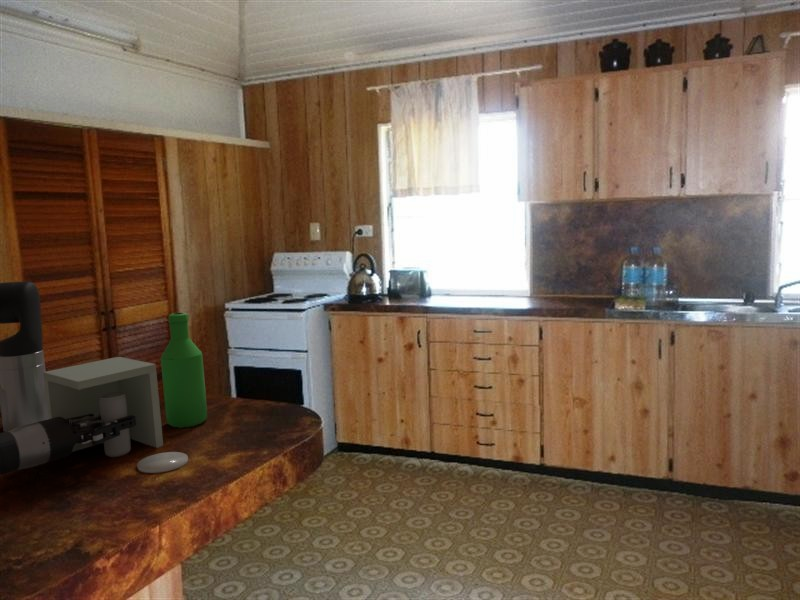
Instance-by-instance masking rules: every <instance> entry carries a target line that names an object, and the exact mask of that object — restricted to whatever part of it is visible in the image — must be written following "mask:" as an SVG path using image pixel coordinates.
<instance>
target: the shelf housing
mask: <svg viewBox="0 0 800 600" xmlns="http://www.w3.org/2000/svg"><path fill="white" fill-rule="evenodd" d="M156 364H157V363H152V362H147V361H142V360H137V359H131V358H128V357H121V356H116V357H111V358H106V359H105V358H104V359H101V360H97V361H91V362H87V363H83V364H77V365H72V366H67V367H62V368H57V369H53V370H48V371H46V372H43V375H44V383H45V392H46V400H47V409H48V417H49V419H51V418H55V417H62V418H64V419H68V418H73V417H78V416H83V415H88V414H94V416H95V415H97V414H99V415H101V413H100V404H99V400H100V395H102V394H105V393H109V392H124V393H125V396H126V404H127V414H128V416H130V415H133V416H135V417H136V425H135V426H134V427H131V428H129V434H130V440H133V441H135V442H139V443H142V444H144V445H148V446H149V445H150V446H149V447H152V446H153V448H155V447H156V449H157V448H161V447H164V439H163V428H162V418H161V408H160V406H161V405H160V396H159V385H158V374H157V365H156ZM101 444H104V442H102V443H101ZM93 446H95V445H92V441H90V442H89V443H85V444H80V443H76V444H75V445H74V447H73V450H72V453H73V452H76V451H80V450H84V449H87V448H91V447H93Z"/></svg>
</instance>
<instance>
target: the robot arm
mask: <svg viewBox="0 0 800 600" xmlns="http://www.w3.org/2000/svg"><path fill="white" fill-rule="evenodd" d="M41 304H42V303H41V296H40V291H39V289H38V287H37V285H36V284H35V283H33V282H32V281H10V282H9V281H7V282H0V324H2V325H4V324H19V330H18V331H17V332H16V333H14V334H13V335H11V336H9V337H5V338H4V339H1V340H0V413H1V414H0V415H1V421H2V429H3V432H0V476H3V475H7V474H8V473H12V472H16V471H20V470H24V469H29V468H34V467H36V466H40V465H44V464H46V463H49V462H52V461H55V460H59V459H62V458H65V457H68V456H70V455H71V454H72V453H73V452H72V450H73V447H74V445H75V444H76V443H80V444H85V443H89V442H90V441H92V445H94V446H97V445H100V444H103V443H102V442H105V441H107V440H110V439H112V438H115V437H117V436H120V431H121V430H124V429H127V428H131V427H134V426H135V425H136V417H135V416H133V415H130V416H127V417H123V418H120V419H116V420H111V421H105V422H104V421H103V420H101V415H99V414H97V415H95V416H94V414H88V415H83V416H78V417H73V418H68V419H64V418H62V417H55V418H51V419H49V417H48V409H47V400H46V392H45V383H44V375H43V372H46V363H45V362H46V361H45V353H44V345H43V325H42V309H41ZM110 429H112V430H110Z"/></svg>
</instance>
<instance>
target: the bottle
mask: <svg viewBox="0 0 800 600" xmlns="http://www.w3.org/2000/svg"><path fill="white" fill-rule="evenodd" d="M189 320H190V319H189V316H188V313H186V312H173V313H171V314H169V315H168V320H167V322H168V323H169V331H170V332H169V333H170V340H169V343H168V344H167V346H166V347H165V349H164V351H163V353H162V354H161V356H160V366H161V375H162V388H163V396H164V397H163V398H164V399H163V400H164V408H165V417H166V418H165V420H166V423H167V424H168V425H169V426H171V427H173V428H176V427H178V428H179V429H185V428H184V427H186V428H191V426H192V427H196V426H199V425H201V424H203V423H204V422H205V421H206V419H207V418H208V406H207V395H206V383H205V371H204V370H205V369H204V359H203V357H204V356H203V353H202V351H201V350H200V349H199V348H198V346H197V345H196V344H195V343H194V342H193V340H192V339H191V338H190V332H189V322H188V321H189ZM198 424H199V425H198ZM195 425H196V426H195ZM182 427H183V428H182Z"/></svg>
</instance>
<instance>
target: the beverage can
mask: <svg viewBox="0 0 800 600" xmlns="http://www.w3.org/2000/svg"><path fill="white" fill-rule="evenodd" d="M99 404H100V413H101V420H103V421H104V422H105V421H111V420H116V419H120V418H123V417H127V416H128V414H127V404H126V396H125V393H124V392H109V393H105V394H102V395H100V400H99ZM110 430H112V429H110ZM131 445H132V444H131V439H130V434H129V428H127V429H124V430H121V431H120V436H117V437H115V438H112V439H110V440H107V441H105V442H104V443H103V447H104V454H105V456H107V457H109V458H116V457H121V456H125V455H127V454H129V453H130V451H131V450H132V447H131Z"/></svg>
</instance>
